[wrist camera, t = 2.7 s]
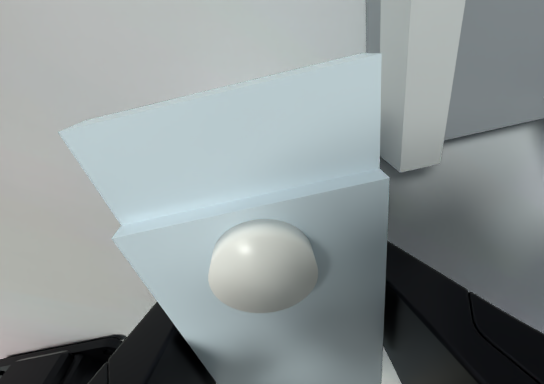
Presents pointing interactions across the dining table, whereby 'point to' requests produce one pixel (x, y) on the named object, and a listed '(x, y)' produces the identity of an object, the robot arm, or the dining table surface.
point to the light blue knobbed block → (257, 219)
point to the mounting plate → (453, 71)
